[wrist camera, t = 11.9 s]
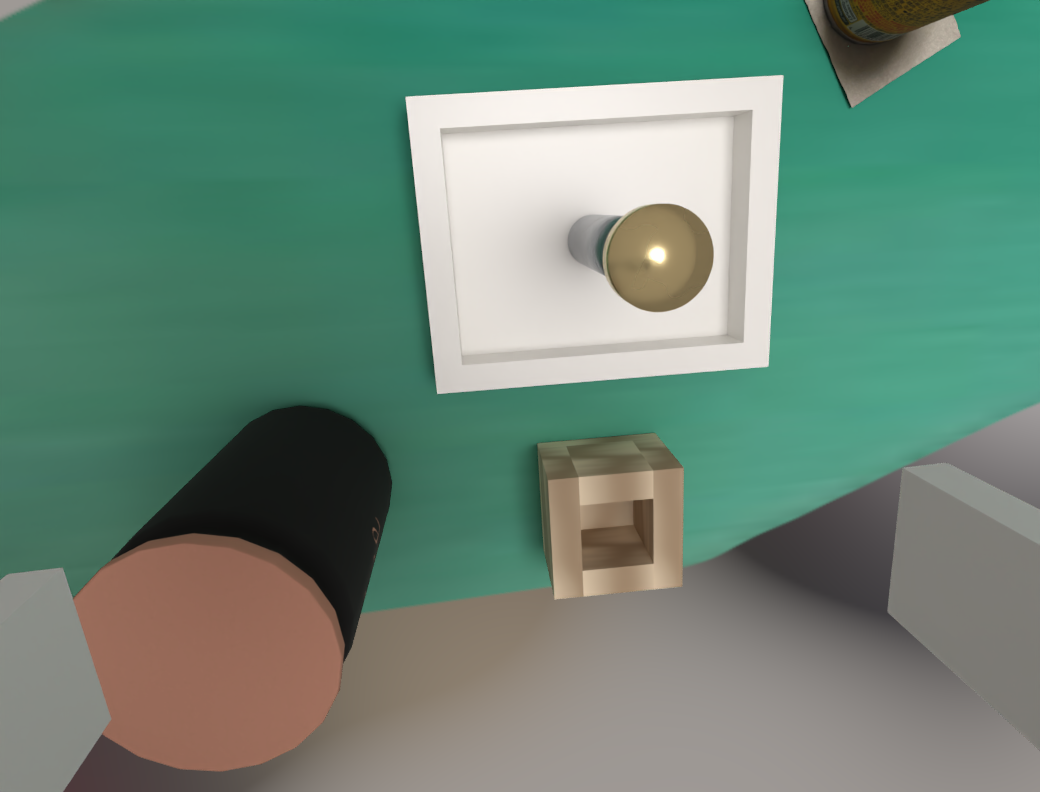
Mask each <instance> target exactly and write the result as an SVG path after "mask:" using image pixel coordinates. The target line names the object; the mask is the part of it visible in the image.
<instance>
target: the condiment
mask: <svg viewBox="0 0 1040 792" xmlns="http://www.w3.org/2000/svg"><path fill="white" fill-rule="evenodd" d="M986 1H989V0H805V2H806V4H807V5H808V8H809V11H810V14H811V16H812V19H813V21H814V23H815V25H816V26H817V30H818V32H819V34H820V36H821V38H822V40H823V44H824V45H825V47H826V48H827V50H828V52H829V55H830V58H831V61H832V64H833V66H834V68H835V71H836V73H837V76H838V78H839V80H840V82H841V84H842V86H843V88H844V90H845V92H846V94H847V97H848V100H849V102H850V104H851V107H854V106H855V105H857V104H859V103H860V102H862V101H863V100H864V99H866V98H867V97H869V96H870V95H872V94H873V93H875V92H876V91H878V90H879V89H881V88H883V87H884V86H885V85H887V84H889V83H890V82H891V81H893V80H894V79H896V78H898V77H899V76H901V75H902V74H904V73H905V72H907V71H909V70H910V69H911V68H912V67H914V66H916V65H918V64H919V63H921V62H923V61H924V60H925V59H927V58H929V57H930V56H932V55H933V54H935V53H936V52H938V51H939V50H941V49H942V48H944V47H946V46H947V45H949V44H951V43H952V42H954V41H955V40H957V39H958V38H960V37H961V36H960V33H959V30H958V26H957V23H956V20H955V18H954V16H953V15H954V14H956V13H959V12H961V11H964V10H967V9H969V8H971V7H974V6H976V5H979V4H982V3H984V2H986ZM848 46H849V47H848Z"/></svg>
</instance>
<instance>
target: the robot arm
mask: <svg viewBox="0 0 1040 792" xmlns="http://www.w3.org/2000/svg"><path fill="white" fill-rule="evenodd" d="M888 613H889V614H890V615H891V616H892V617H893V618H895V619H896V620H897V621H898V622H899V623H900V624H901V625H902V626H903V627H904V628H906V629H907V630H908V631H909V632H910V633H911V634H912V635H913V636H914V637H915V638H917V639H918V640H919V641H920V642H921V643H922V644H923V645H924V646H925V647H926V648H927V649H929V650H930V651H931V652H932V653H933V654H934V655H935V656H936V657H937V658H938V659H940V660H941V661H942V662H943V663H944V664H945V665H946V666H947V667H948V668H950V669H951V670H952V671H953V672H954V673H955V674H956V675H957V676H958V677H959V678H960V679H962V680H963V681H964V682H965V683H966V684H967V685H968V686H969V687H970V688H971V689H973V690H974V691H975V692H976V693H977V694H978V695H979V696H980V697H981V698H982V699H984V700H985V701H986V702H987V703H988V704H989V705H990V706H991V707H992V708H993V709H994V710H996V711H997V712H998V713H999V714H1000V715H1001V716H1002V717H1003V718H1004V719H1005V720H1007V721H1008V722H1009V723H1010V724H1011V725H1012V726H1013V727H1014V728H1015V729H1016V730H1017V731H1019V732H1020V733H1021V734H1022V735H1023V736H1024V737H1025V738H1026V739H1027V740H1028V741H1030V742H1031V743H1032V744H1033V745H1034V746H1035V747H1036V748H1037V749H1038V750H1040V510H1039V509H1037V508H1035V507H1033V506H1031V505H1029V504H1027V503H1025V502H1023V501H1021V500H1019V499H1017V498H1016V497H1014V496H1011V495H1010V494H1008V493H1005V492H1004V491H1001V490H999V489H998V488H996V487H994V486H992V485H990V484H988V483H985V482H984V481H982V480H980V479H978V478H976V477H974V476H972V475H970V474H968V473H966V472H963V471H962V470H960V469H958V468H956V467H954V466H952V465H950V464H948V463H940V464H932V465H923V466H915V467H906V468H903V469H902V479H901V488H900V498H899V508H898V517H897V526H896V536H895V545H894V555H893V564H892V574H891V583H890V592H889V603H888ZM110 721H111V716H110V713H109V710H108V707H107V704H106V701H105V698H104V695H103V691H102V688H101V685H100V682H99V679H98V676H97V673H96V670H95V667H94V663H93V660H92V657H91V654H90V651H89V648H88V645H87V642H86V638H85V635H84V632H83V629H82V626H81V623H80V620H79V617H78V614H77V610H76V607H75V604H74V601H73V598H72V595H71V592H70V589H69V586H68V582H67V579H66V576H65V573H64V570H63V568H55V569H47V570H38V571H30V572H21V573H13V574H7V575H6V576H5V577H4V578H2V579H1V580H0V792H63V791H64V789H65V788H66V786H67V785H68V783H69V782H70V781H71V779H72V777H73V776H74V775H75V773H76V772H77V770H78V769H79V767H80V766H81V764H82V763H83V761H84V760H85V758H86V757H87V755H88V753H89V752H90V751H91V749H92V748H93V746H94V744H95V743H96V742H97V740H98V739H99V737H100V735H101V734H102V733H103V731H104V730H105V728H106V727H107V725H108V724H109V722H110Z"/></svg>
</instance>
